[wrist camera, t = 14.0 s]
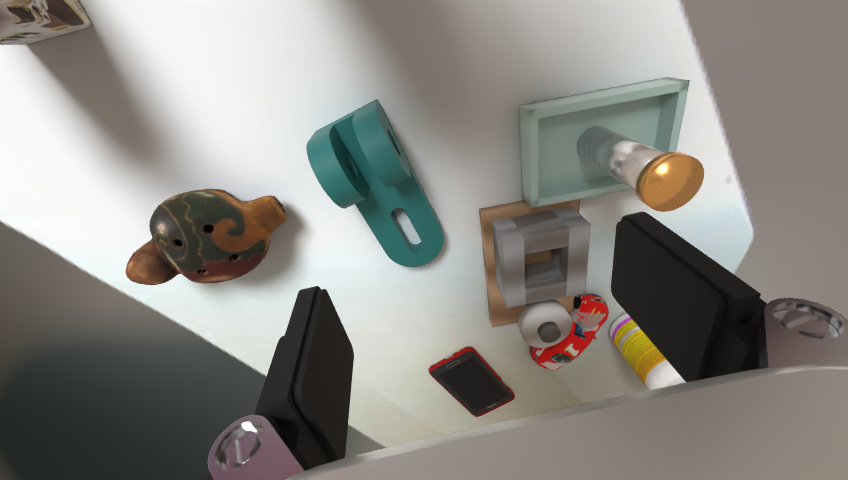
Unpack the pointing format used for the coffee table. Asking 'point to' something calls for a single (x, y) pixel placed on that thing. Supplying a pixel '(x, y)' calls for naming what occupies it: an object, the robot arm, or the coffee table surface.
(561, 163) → the tray
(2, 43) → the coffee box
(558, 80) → the coffee table surface
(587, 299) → the race car
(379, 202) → the bracket
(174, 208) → the green brown ocarina
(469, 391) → the cell phone
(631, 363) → the supplement bottle
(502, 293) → the square socket fixture board
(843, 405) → the robot arm
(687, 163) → the pin
